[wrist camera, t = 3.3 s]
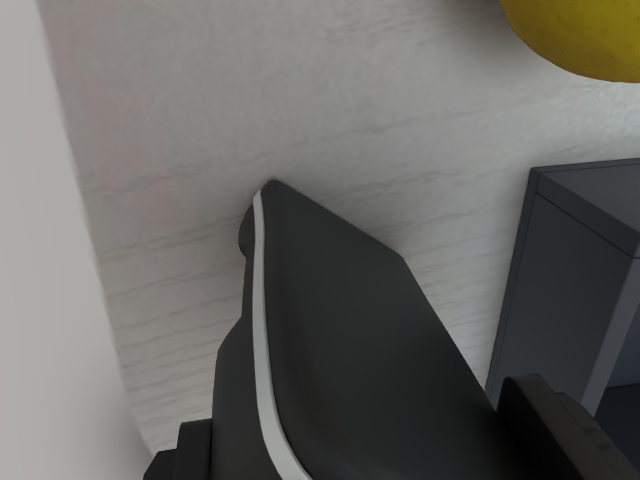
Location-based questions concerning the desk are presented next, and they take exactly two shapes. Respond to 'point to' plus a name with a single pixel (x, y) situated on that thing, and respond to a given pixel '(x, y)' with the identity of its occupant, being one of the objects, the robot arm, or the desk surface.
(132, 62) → the desk surface
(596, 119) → the desk surface
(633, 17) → the apple
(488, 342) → the desk surface
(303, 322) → the battery charger
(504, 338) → the bin
